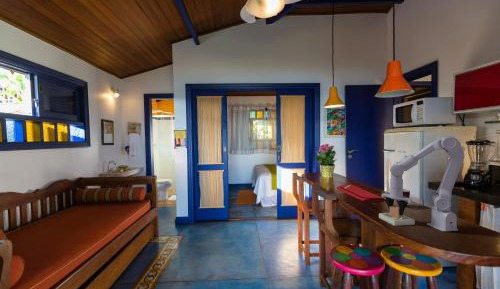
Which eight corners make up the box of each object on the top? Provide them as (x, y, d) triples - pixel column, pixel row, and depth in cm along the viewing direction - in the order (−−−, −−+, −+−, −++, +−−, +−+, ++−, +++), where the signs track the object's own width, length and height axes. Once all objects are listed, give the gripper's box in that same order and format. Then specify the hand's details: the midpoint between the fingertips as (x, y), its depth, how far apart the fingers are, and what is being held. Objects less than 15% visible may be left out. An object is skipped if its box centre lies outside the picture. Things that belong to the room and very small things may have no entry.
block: (403, 216, 129) (403, 207, 129) (398, 218, 127) (398, 208, 127) (394, 214, 133) (394, 205, 133) (389, 216, 131) (389, 206, 131)
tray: (414, 224, 125) (414, 219, 125) (394, 225, 123) (394, 220, 123) (397, 216, 137) (397, 212, 137) (378, 218, 135) (378, 213, 135)
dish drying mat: (363, 202, 168) (363, 197, 168) (335, 189, 209) (335, 185, 209) (385, 201, 170) (385, 196, 170) (353, 188, 210) (353, 184, 210)
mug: (415, 209, 151) (415, 192, 150) (401, 209, 151) (401, 192, 150) (404, 204, 161) (405, 188, 161) (392, 204, 161) (392, 188, 161)
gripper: (415, 189, 125) (415, 216, 126) (386, 184, 138) (386, 209, 138) (408, 191, 122) (407, 218, 122) (379, 186, 134) (379, 211, 135)
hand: (396, 213), depth 130 cm, fingers closed on block, 4 cm apart
